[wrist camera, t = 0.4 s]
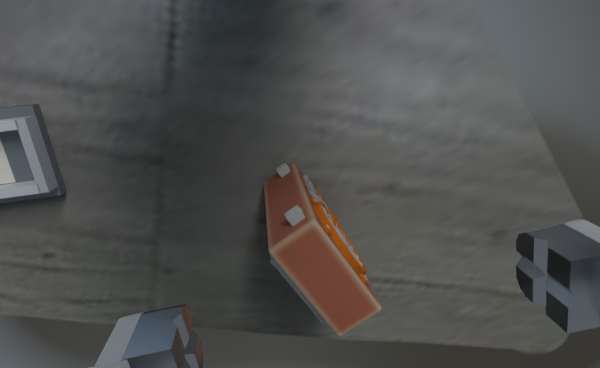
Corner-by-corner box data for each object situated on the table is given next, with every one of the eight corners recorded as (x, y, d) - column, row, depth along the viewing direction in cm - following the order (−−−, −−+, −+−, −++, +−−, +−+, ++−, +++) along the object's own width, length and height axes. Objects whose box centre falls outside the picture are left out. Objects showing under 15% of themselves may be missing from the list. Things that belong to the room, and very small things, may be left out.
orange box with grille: (292, 151, 56) (348, 228, 61) (252, 179, 57) (310, 254, 62) (313, 205, 36) (394, 314, 41) (251, 247, 37) (338, 350, 41)
